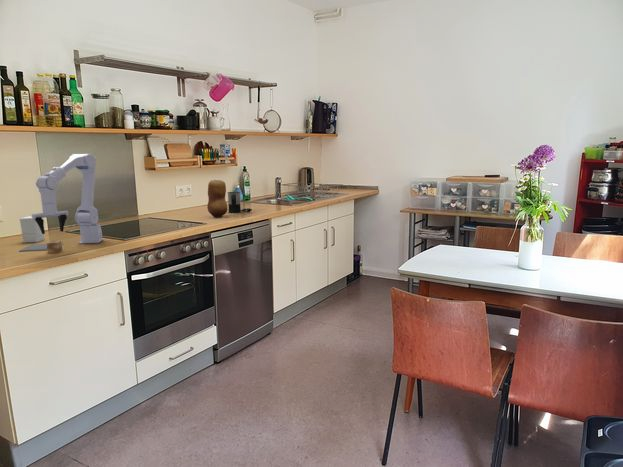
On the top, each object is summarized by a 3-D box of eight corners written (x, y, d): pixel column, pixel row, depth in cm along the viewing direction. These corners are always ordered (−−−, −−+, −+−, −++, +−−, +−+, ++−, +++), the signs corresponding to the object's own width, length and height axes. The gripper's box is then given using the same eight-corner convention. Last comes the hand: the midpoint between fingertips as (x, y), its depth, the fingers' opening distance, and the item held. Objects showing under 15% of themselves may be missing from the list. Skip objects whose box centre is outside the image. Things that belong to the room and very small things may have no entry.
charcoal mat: (62, 244, 227) (62, 243, 227) (51, 250, 214) (51, 248, 214) (32, 245, 225) (32, 244, 225) (19, 251, 212) (19, 250, 212)
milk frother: (226, 212, 333) (225, 191, 331) (247, 210, 340) (246, 190, 337) (232, 214, 321) (230, 193, 318) (253, 212, 327) (252, 192, 324)
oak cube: (62, 250, 213) (61, 240, 212) (58, 252, 209) (57, 242, 208) (51, 251, 212) (50, 241, 211) (47, 253, 208) (46, 243, 207)
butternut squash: (229, 217, 305) (227, 180, 300) (209, 219, 300) (207, 181, 295) (225, 215, 317) (223, 179, 313) (206, 216, 312) (203, 179, 308)
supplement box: (45, 239, 240) (42, 215, 238) (37, 242, 233) (34, 217, 230) (30, 239, 240) (27, 216, 238) (22, 242, 233) (19, 218, 230)
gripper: (63, 200, 214) (66, 229, 217) (28, 203, 204) (32, 233, 207) (68, 201, 209) (71, 231, 212) (32, 205, 199) (36, 235, 202)
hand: (52, 232), depth 209 cm, fingers open, 7 cm apart
